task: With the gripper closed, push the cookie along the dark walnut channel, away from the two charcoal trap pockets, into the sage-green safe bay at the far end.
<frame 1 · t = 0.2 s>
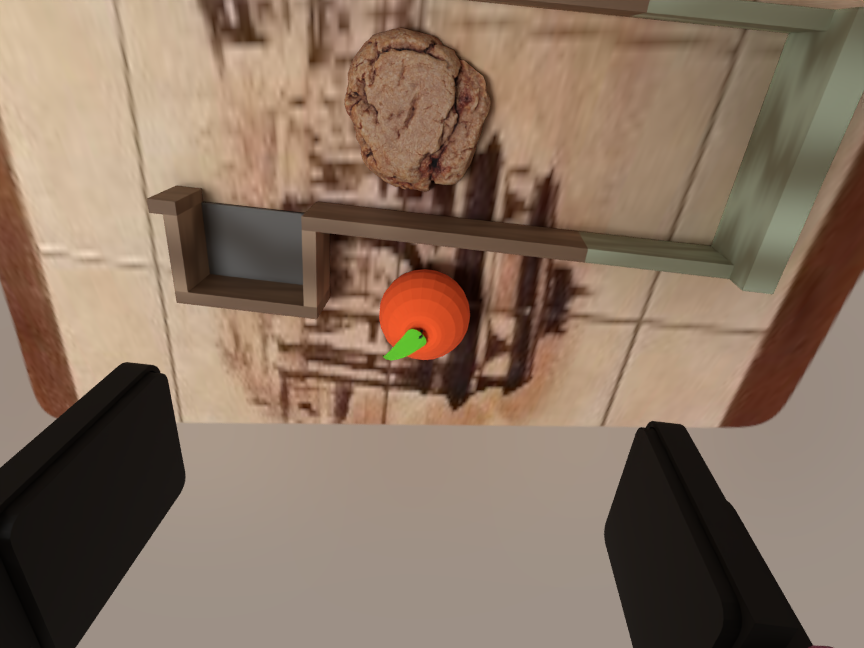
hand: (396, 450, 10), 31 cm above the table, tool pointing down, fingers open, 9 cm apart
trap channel: (471, 119, 36), on the table
cookie: (415, 112, 37), resting in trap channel
clementine: (424, 298, 43), on the table
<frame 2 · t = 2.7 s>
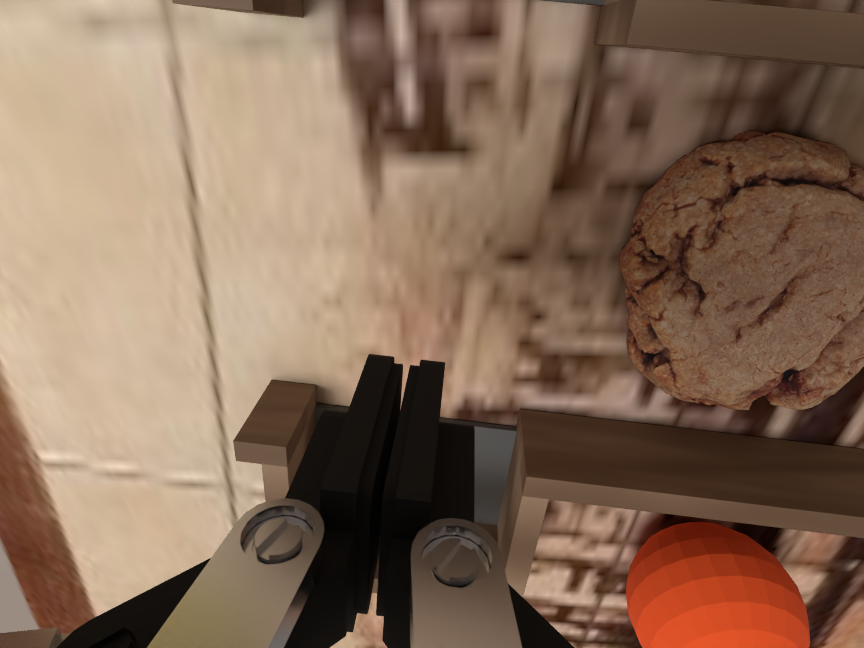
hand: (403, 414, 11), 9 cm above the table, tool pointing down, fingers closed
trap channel: (854, 291, 19), on the table
cookie: (737, 273, 19), resting in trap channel
clementine: (673, 541, 26), on the table
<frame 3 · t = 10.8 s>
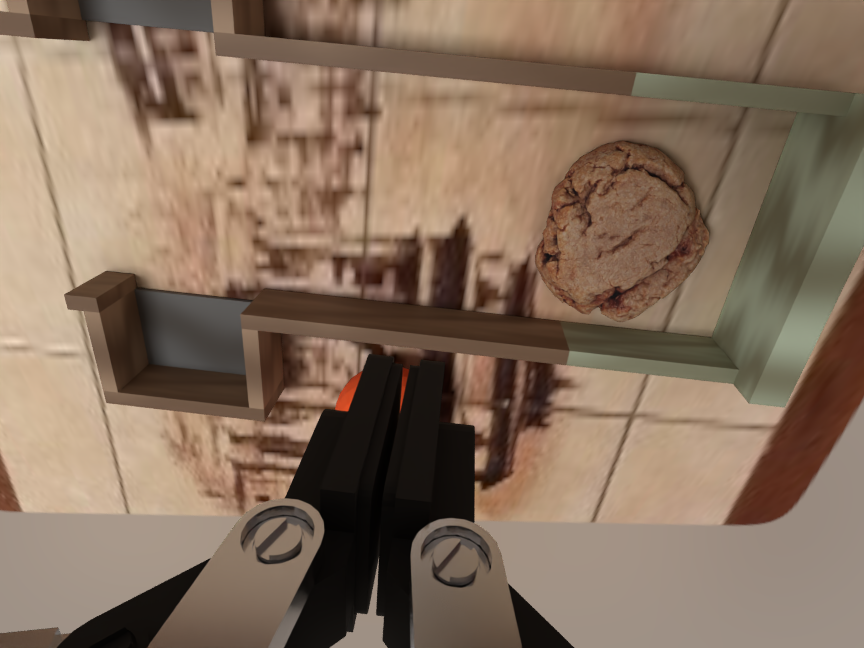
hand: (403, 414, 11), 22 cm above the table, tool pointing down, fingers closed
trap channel: (434, 202, 31), on the table
cookie: (611, 230, 32), resting in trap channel
clementine: (389, 389, 38), on the table
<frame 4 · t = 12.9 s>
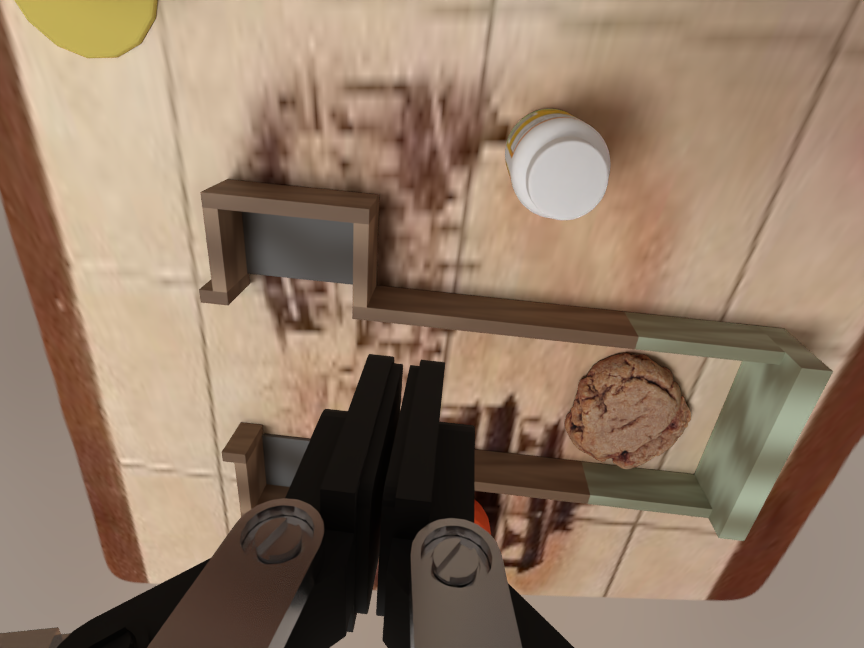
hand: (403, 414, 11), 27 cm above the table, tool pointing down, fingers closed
supplement bottle: (544, 150, 35), on the table
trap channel: (491, 385, 43), on the table
cookie: (620, 403, 44), resting in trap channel
clementine: (449, 503, 50), on the table
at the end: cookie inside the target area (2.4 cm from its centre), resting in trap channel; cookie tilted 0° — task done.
